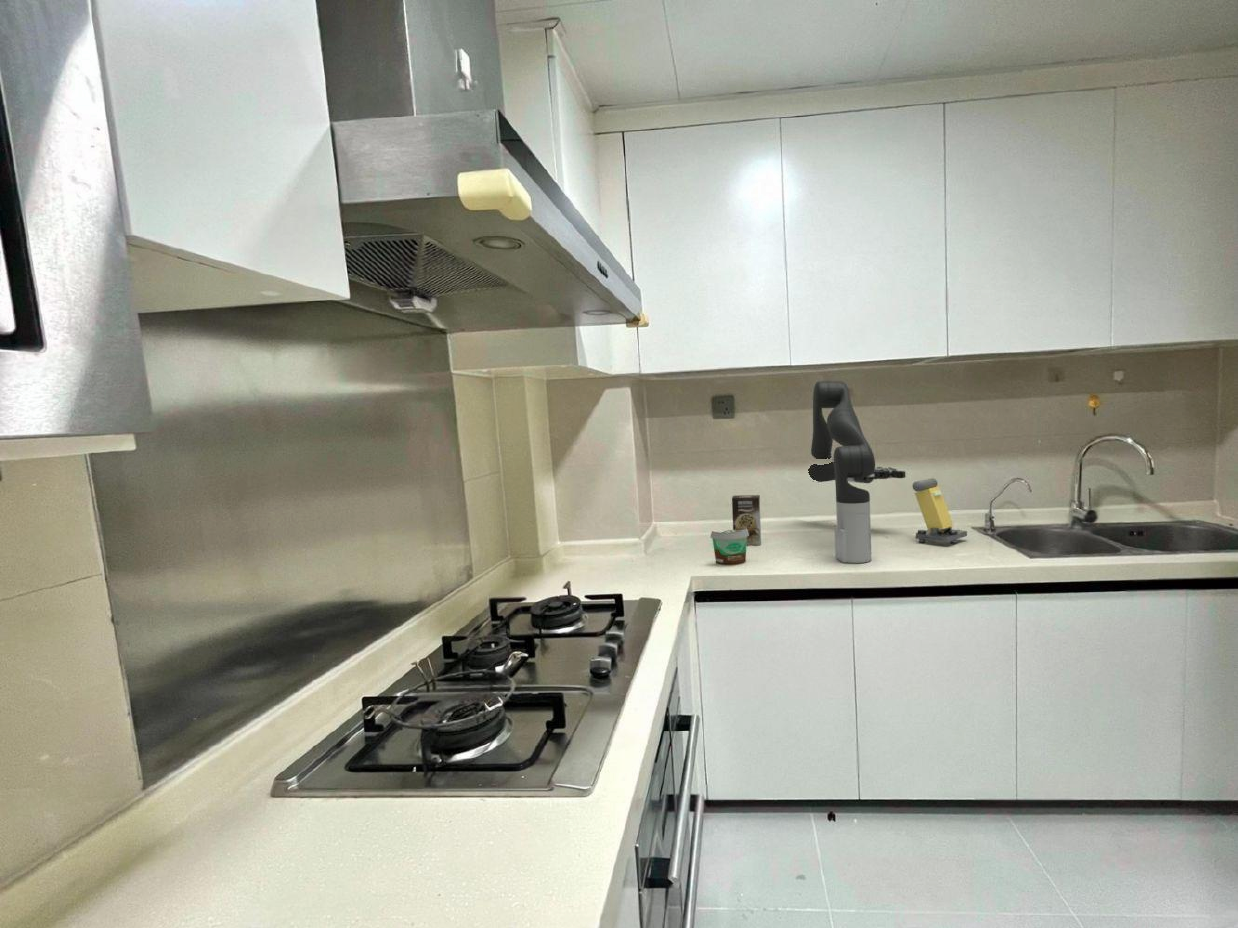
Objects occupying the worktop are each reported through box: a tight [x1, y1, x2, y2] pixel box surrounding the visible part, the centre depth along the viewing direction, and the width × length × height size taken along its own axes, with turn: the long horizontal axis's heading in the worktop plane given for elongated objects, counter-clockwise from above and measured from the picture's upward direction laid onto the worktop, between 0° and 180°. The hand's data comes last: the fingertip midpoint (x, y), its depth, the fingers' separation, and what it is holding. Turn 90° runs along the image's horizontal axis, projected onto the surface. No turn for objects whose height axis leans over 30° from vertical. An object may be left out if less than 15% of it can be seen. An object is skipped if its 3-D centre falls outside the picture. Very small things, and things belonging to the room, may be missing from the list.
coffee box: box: [731, 494, 762, 546], centre depth 222 cm, size 9×6×16 cm
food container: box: [710, 526, 749, 566], centre depth 197 cm, size 12×6×10 cm, turn 112°
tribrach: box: [915, 526, 968, 545], centre depth 208 cm, size 12×10×5 cm
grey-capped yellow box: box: [912, 477, 954, 532], centre depth 209 cm, size 9×6×17 cm, turn 126°
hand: (904, 474), depth 216 cm, fingers closed
